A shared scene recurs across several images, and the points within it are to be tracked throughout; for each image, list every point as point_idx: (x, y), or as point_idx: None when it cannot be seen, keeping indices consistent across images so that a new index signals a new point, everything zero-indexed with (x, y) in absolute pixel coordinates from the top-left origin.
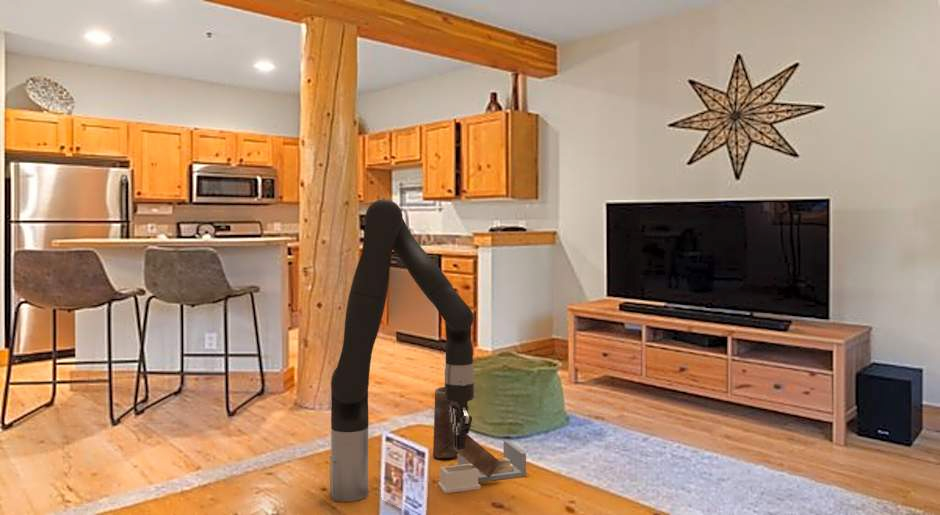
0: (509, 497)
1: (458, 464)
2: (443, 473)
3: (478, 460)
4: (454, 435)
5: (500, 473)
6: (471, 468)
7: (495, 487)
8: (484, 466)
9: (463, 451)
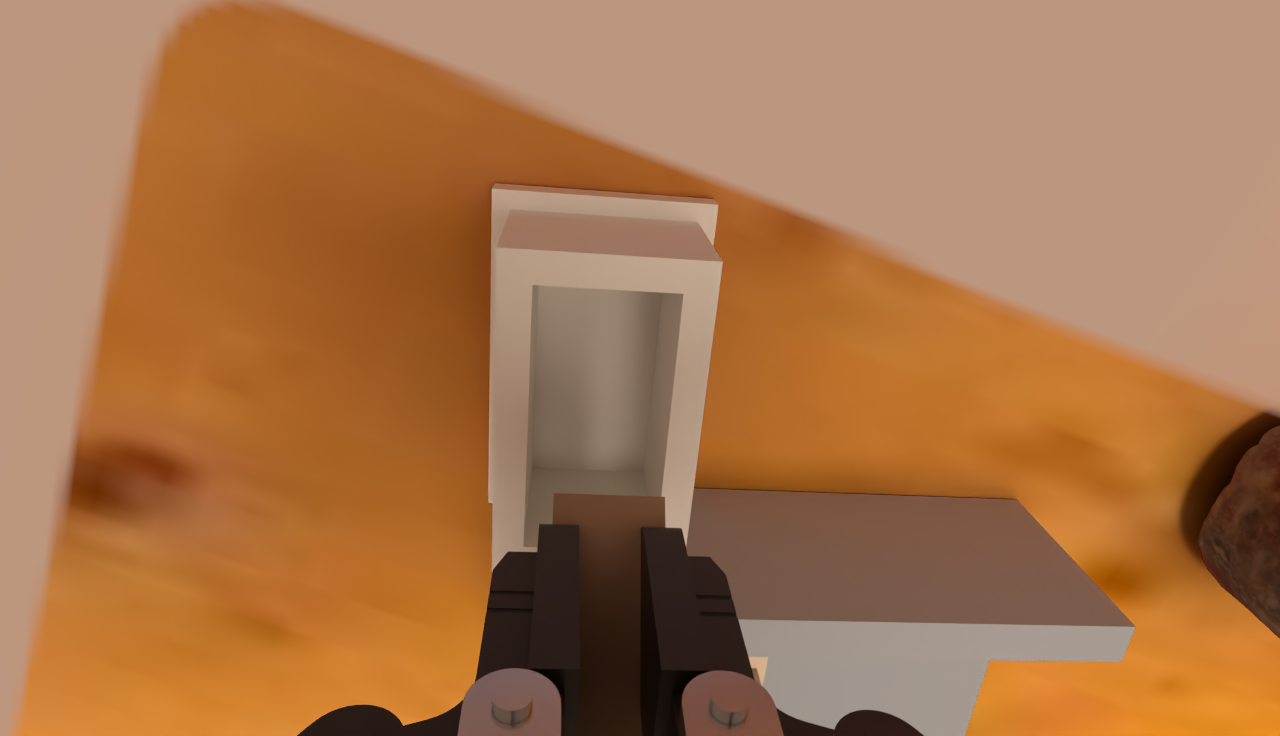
0: (253, 602)
1: (1016, 513)
2: (596, 245)
3: None
4: (671, 640)
5: None
6: None
7: (479, 588)
8: None
9: None
